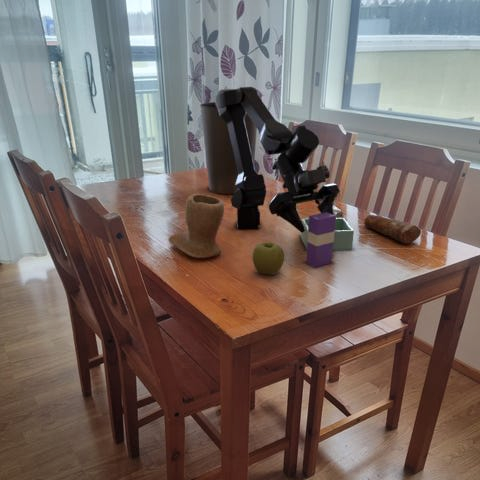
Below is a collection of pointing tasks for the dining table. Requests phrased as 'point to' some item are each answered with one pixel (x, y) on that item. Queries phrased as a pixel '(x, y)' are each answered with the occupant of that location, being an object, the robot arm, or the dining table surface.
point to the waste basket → (222, 149)
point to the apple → (268, 257)
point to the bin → (341, 235)
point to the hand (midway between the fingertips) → (318, 228)
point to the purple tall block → (320, 239)
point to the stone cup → (200, 227)
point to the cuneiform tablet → (337, 211)
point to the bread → (393, 228)
